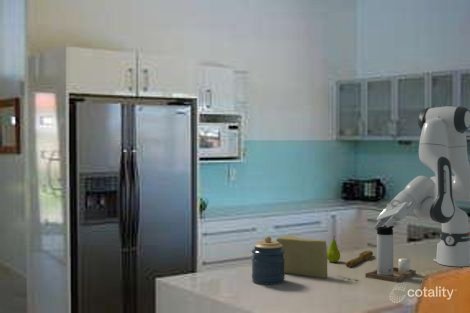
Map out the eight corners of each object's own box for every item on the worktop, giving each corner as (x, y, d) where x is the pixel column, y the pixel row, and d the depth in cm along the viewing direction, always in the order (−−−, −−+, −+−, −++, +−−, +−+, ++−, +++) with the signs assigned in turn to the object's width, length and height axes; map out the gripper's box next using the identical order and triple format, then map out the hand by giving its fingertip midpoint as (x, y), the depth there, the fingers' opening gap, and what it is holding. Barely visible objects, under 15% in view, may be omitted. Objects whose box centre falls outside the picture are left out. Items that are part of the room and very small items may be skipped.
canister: (288, 278, 242) (288, 234, 242) (280, 286, 230) (279, 239, 229) (257, 276, 246) (257, 233, 246) (247, 283, 234) (247, 238, 234)
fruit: (323, 262, 274) (323, 235, 274) (331, 260, 279) (331, 234, 279) (335, 264, 270) (335, 237, 270) (343, 261, 275) (343, 235, 274)
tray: (385, 272, 253) (385, 265, 253) (415, 276, 244) (415, 270, 244) (365, 280, 239) (365, 273, 239) (396, 285, 231) (396, 278, 231)
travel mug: (394, 278, 237) (394, 226, 236) (377, 277, 238) (376, 226, 238) (393, 274, 243) (393, 224, 243) (376, 274, 244) (376, 224, 244)
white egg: (401, 272, 247) (401, 257, 247) (411, 273, 244) (411, 259, 244) (396, 274, 244) (396, 259, 243) (406, 275, 241) (406, 260, 241)
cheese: (333, 276, 247) (333, 239, 246) (320, 280, 239) (320, 242, 239) (289, 268, 261) (289, 233, 261) (275, 272, 254) (275, 236, 253)
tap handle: (345, 261, 263) (367, 249, 289) (345, 268, 263) (367, 256, 289) (352, 261, 262) (373, 250, 288) (352, 268, 262) (373, 256, 288)
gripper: (420, 206, 235) (397, 230, 231) (397, 214, 254) (375, 236, 250) (409, 194, 235) (386, 218, 231) (387, 203, 255) (365, 224, 251)
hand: (380, 227), depth 241 cm, fingers open, 8 cm apart
